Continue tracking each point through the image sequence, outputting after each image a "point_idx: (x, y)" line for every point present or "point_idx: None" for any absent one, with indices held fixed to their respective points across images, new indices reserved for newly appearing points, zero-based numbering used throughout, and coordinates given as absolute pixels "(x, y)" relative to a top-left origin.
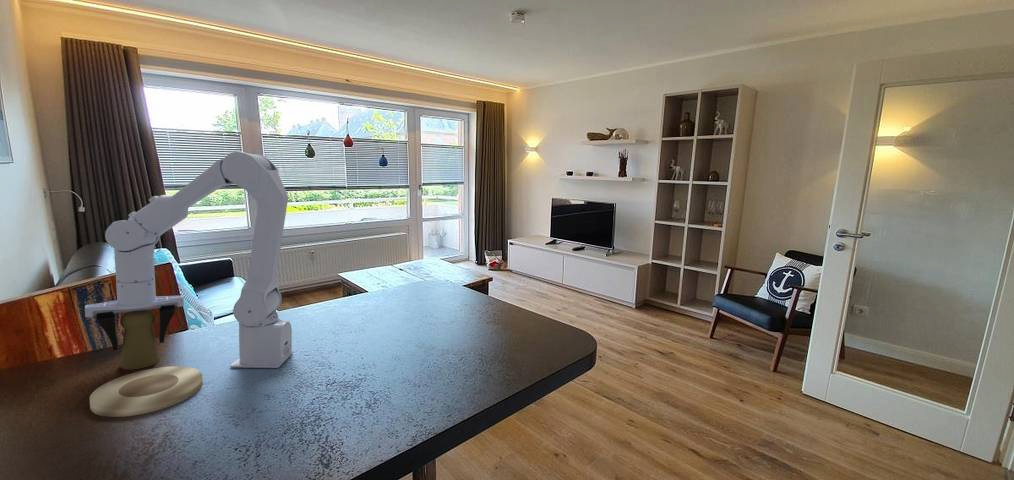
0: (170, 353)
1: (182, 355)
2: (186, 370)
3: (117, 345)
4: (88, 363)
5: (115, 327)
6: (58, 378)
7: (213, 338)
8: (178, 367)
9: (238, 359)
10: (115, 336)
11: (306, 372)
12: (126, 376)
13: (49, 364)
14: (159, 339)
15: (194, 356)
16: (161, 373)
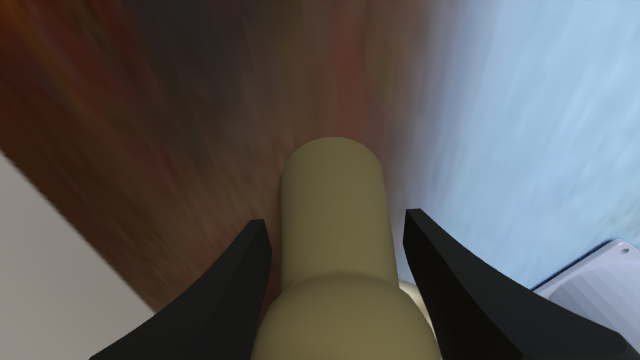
0: (420, 139)
1: (449, 176)
2: (431, 324)
3: (268, 272)
4: (172, 117)
5: (243, 349)
6: (148, 205)
7: (633, 10)
8: (419, 308)
9: (554, 287)
10: (257, 317)
11: None
12: None
13: (28, 61)
14: (407, 245)
15: (477, 199)
16: None
